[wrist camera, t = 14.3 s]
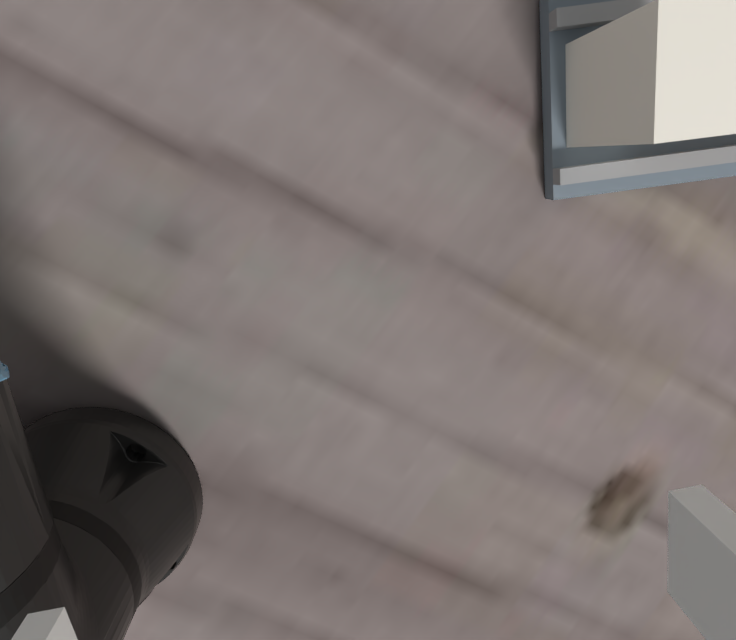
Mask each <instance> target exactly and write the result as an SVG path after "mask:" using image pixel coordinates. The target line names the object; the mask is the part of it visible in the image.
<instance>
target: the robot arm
mask: <svg viewBox="0 0 736 640" xmlns="http://www.w3.org/2000/svg"><path fill="white" fill-rule="evenodd" d="M9 377H10V376H9V371H8V367H7V365H5V364H4V363H2V362H0V640H123V639H124V637H125V634H126V632H127V630H128V627H129V625H130V623H131V621H132V618H133V616H134V614H135V612H136V609H137V607H138V606H139V605H140V604H141V603H142V602H143V601H144V600H145V599H146V598H147V597H148V596H149V594H150V593H151V592H152V590H153V589H154V587H155V586H156V585H157V584H159V583H160V582H161V581H163V580H164V579H165V578H166V577H167V576H168V575H170V574H171V573H172V571H173V570H174V569H175V568H176V567H177V566H178V565H179V564H180V562H181V561H182V559H183V558H184V556H185V555H186V553H187V552H188V550H189V548H190V546H191V543H192V541H193V538H194V536H195V533H196V530H197V528H198V525H199V522H200V518H201V514H202V505H203V498H202V489H201V484H200V480H199V477H198V475H197V472H196V470H195V468H194V466H193V464H192V462H191V460H190V459H189V457H188V456H187V454H186V453H185V452H184V450H183V449H182V448H181V447H180V446H179V445H178V444H177V442H176V441H174V440H173V439H172V438H171V437H170V436H169V435H168V434H166V433H165V432H164V431H162V430H161V429H160V428H158V427H156V426H155V425H153V424H152V423H150V422H148V421H146V420H144V419H141V418H139V417H137V416H134V415H131V414H129V413H125V412H122V411H117V410H113V409H106V408H92V407H88V408H75V409H69V410H64V411H60V412H57V413H54V414H51V415H48V416H46V417H44V418H42V419H40V420H38V421H36V422H35V423H33V424H32V425H30V426H29V427H27V428H26V429H25V430H24V429H23V426H22V423H21V421H20V418H19V415H18V412H17V409H16V406H15V403H14V400H13V397H12V394H11V390H10V387H9V384H8V381H7V378H9ZM667 592H668V593H669V594H670V595H671V597H672V598H673V599H674V600H675V602H676V603H677V604H678V605H679V607H680V608H681V609H682V610H683V612H684V613H685V614H686V615H687V617H688V618H689V619H690V620H691V622H692V623H693V624H694V625H695V626H696V628H697V629H698V630H699V631H700V633H701V634H702V635H703V636H704V638H705V639H706V640H736V513H735V512H734V511H732V510H731V509H730V508H729V507H728V506H727V505H725V504H724V503H723V502H722V501H721V500H719V499H718V498H717V497H716V496H715V495H714V494H712V493H711V492H710V491H709V490H708V489H707V488H705V487H704V486H703V485H697V486H692V487H687V488H682V489H676V490H671V491H668V583H667Z"/></svg>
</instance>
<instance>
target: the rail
mask: <svg viewBox="0 0 736 640" xmlns="http://www.w3.org/2000/svg"><path fill="white" fill-rule="evenodd" d="M652 1H655V0H541V1H539V7H540V41H541V75H542V109H543V142H544V176H545V198H546V199H551V200H558V199H565V198H573V197H580V196H588V195H595V194H603V193H610V192H618V191H625V190H633V189H640V188H648V187H655V186H662V185H670V184H677V183H685V182H692V181H700V180H707V179H715V178H722V177H730V176H736V134H730V135H722V136H714V137H706V138H698V139H689V140H681V141H673V142H665V143H657V144H641V145H617V146H593V147H569V148H567V145H566V53H565V44H567V43H570V42H572V41H574V40H576V39H578V38H580V37H582V36H584V35H586V34H588V33H590V32H592V31H594V30H596V29H598V28H600V27H602V26H604V25H606V24H608V23H610V22H612V21H614V20H616V19H618V18H620V17H622V16H624V15H626V14H628V13H630V12H632V11H634V10H636V9H638V8H640V7H642V6H644V5H646V4H648V3H650V2H652Z"/></svg>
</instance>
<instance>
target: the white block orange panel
mask: <svg viewBox="0 0 736 640" xmlns="http://www.w3.org/2000/svg"><path fill="white" fill-rule="evenodd" d="M565 53H566V145H567V148H569V147H593V146H617V145H641V144H657V143H665V142H673V141H681V140H689V139H698V138H706V137H714V136H722V135H730V134H736V0H655V1H652V2H650V3H648V4H646V5H644V6H642V7H640V8H638V9H636V10H634V11H632V12H630V13H628V14H626V15H624V16H622V17H620V18H618V19H616V20H614V21H612V22H610V23H608V24H606V25H604V26H602V27H600V28H598V29H596V30H594V31H592V32H590V33H588V34H586V35H584V36H582V37H580V38H578V39H576V40H574V41H572V42H570V43H567V44H565Z"/></svg>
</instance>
